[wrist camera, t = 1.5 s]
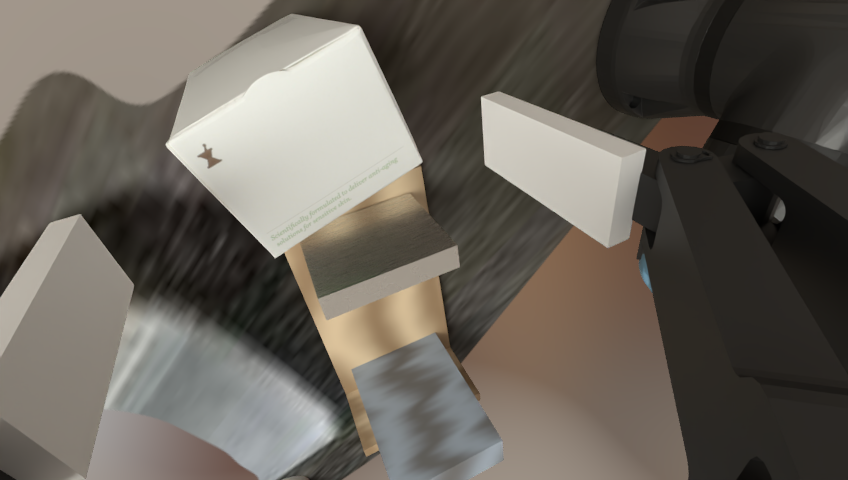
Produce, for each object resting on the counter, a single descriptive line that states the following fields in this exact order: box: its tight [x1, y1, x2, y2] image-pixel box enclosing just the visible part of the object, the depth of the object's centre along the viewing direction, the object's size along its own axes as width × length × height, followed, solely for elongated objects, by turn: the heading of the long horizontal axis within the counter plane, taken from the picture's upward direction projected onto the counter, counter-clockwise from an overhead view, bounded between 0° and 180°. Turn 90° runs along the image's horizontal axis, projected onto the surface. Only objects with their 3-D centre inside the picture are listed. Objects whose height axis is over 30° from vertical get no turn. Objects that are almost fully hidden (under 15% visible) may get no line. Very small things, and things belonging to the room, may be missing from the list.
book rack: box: [284, 165, 503, 480], centre depth 35 cm, size 13×25×15 cm, turn 9°
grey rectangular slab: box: [300, 193, 460, 320], centre depth 31 cm, size 10×2×9 cm, turn 99°
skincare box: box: [166, 14, 423, 258], centre depth 22 cm, size 8×7×16 cm
